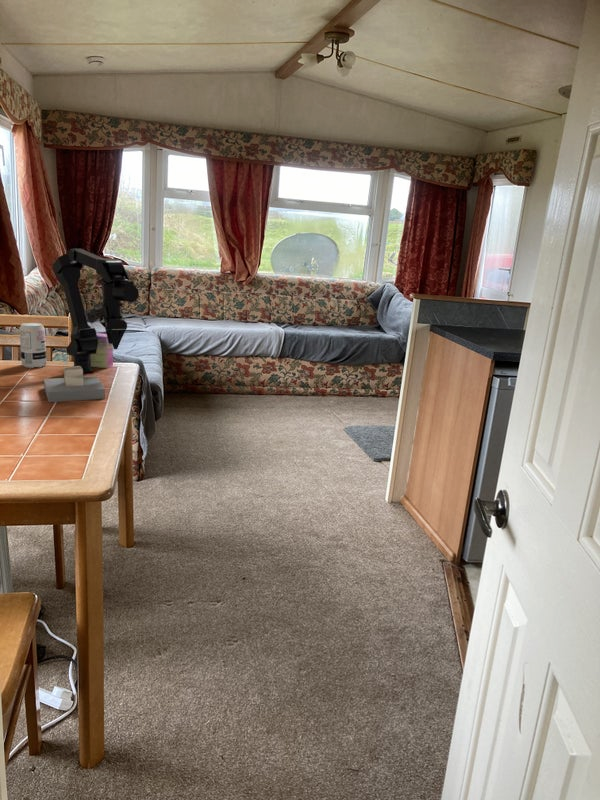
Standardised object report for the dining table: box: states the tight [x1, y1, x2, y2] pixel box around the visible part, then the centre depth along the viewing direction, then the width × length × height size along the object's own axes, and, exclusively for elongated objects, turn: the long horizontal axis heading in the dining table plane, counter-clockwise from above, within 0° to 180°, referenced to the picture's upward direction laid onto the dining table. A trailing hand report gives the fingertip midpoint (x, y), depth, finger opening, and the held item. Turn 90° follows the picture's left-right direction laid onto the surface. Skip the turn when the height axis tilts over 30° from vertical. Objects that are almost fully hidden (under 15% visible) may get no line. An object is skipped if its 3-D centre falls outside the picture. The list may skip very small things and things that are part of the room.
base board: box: [43, 375, 106, 403], centre depth 188 cm, size 16×16×3 cm
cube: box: [63, 365, 84, 386], centre depth 186 cm, size 5×5×5 cm
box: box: [91, 332, 114, 369], centre depth 222 cm, size 10×6×12 cm, turn 84°
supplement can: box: [18, 322, 48, 369], centre depth 216 cm, size 8×8×15 cm
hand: (112, 346), depth 201 cm, fingers open, 9 cm apart
